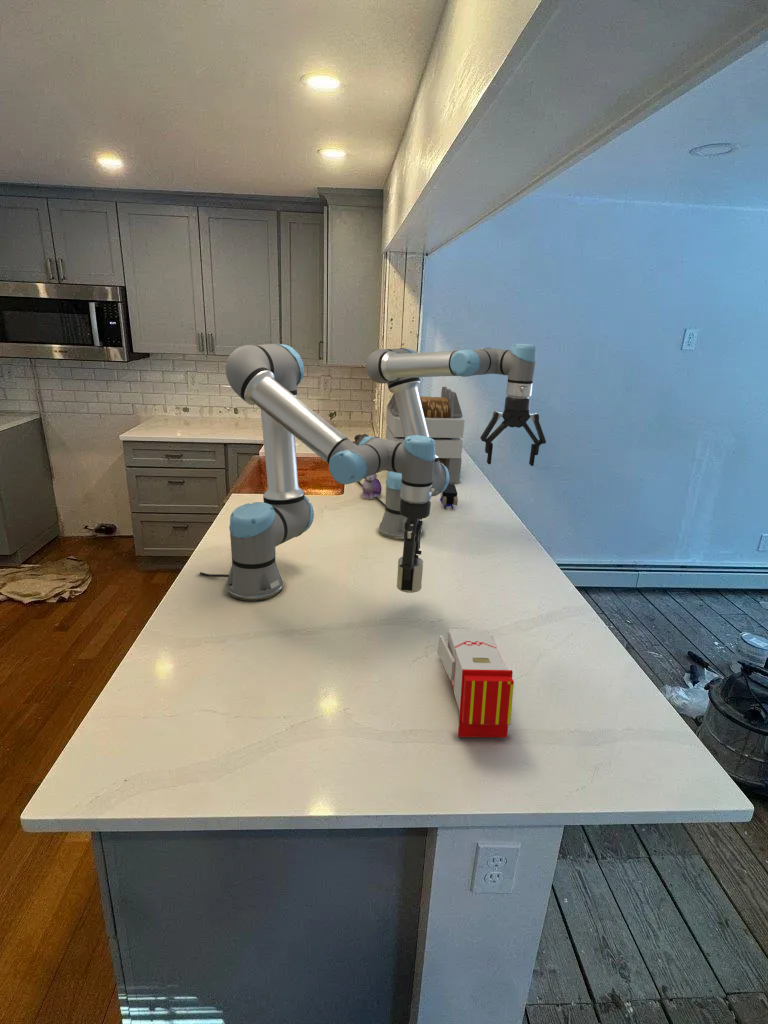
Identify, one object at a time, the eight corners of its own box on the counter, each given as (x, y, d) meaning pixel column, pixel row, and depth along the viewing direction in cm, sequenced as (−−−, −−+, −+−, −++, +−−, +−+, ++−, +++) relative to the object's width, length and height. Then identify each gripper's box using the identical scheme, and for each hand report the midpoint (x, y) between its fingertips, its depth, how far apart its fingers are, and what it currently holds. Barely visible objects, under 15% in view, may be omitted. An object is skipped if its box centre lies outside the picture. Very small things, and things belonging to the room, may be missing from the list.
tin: (407, 595, 143) (409, 568, 140) (391, 585, 148) (393, 559, 145) (426, 588, 147) (428, 562, 144) (410, 579, 151) (412, 553, 149)
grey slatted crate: (382, 463, 289) (386, 382, 275) (445, 464, 293) (451, 384, 279) (390, 482, 257) (394, 392, 243) (460, 483, 261) (468, 394, 247)
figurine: (366, 501, 232) (367, 465, 227) (356, 493, 240) (357, 459, 235) (386, 498, 236) (388, 463, 231) (375, 491, 244) (377, 457, 239)
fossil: (345, 440, 316) (366, 424, 311) (356, 453, 319) (377, 438, 314) (339, 453, 297) (361, 437, 292) (350, 467, 300) (373, 452, 295)
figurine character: (457, 514, 225) (453, 498, 239) (459, 497, 222) (455, 481, 236) (441, 513, 225) (437, 497, 239) (442, 496, 222) (439, 481, 235)
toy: (488, 613, 130) (523, 677, 101) (484, 667, 133) (517, 744, 104) (435, 612, 130) (455, 676, 101) (432, 666, 133) (451, 743, 103)
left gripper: (425, 514, 129) (417, 603, 137) (435, 489, 147) (428, 569, 155) (393, 510, 131) (387, 598, 139) (407, 486, 149) (401, 565, 157)
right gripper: (479, 396, 169) (472, 465, 177) (562, 400, 170) (552, 468, 177) (475, 393, 176) (469, 459, 184) (555, 396, 177) (545, 462, 184)
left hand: (409, 583), depth 147 cm, fingers closed on tin, 6 cm apart
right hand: (510, 464), depth 180 cm, fingers open, 13 cm apart
